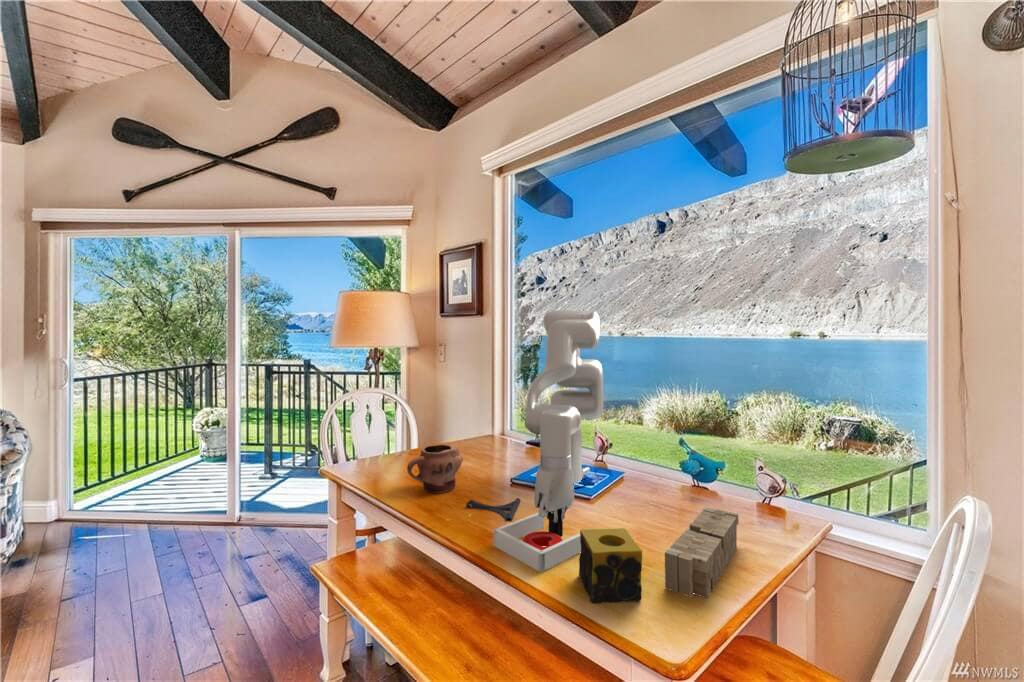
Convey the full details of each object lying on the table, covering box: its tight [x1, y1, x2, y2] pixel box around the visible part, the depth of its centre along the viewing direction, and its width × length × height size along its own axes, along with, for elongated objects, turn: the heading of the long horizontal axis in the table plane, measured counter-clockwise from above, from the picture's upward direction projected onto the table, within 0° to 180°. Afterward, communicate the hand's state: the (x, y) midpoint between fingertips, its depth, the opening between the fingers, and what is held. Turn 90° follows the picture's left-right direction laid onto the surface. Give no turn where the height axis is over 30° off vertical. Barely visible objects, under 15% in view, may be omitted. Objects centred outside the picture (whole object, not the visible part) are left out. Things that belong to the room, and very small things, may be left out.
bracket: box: [465, 497, 521, 522], centre depth 130 cm, size 14×15×3 cm
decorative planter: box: [406, 444, 464, 494], centre depth 145 cm, size 20×12×14 cm, turn 136°
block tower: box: [664, 506, 739, 598], centre depth 99 cm, size 8×8×29 cm
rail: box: [493, 512, 581, 573], centre depth 107 cm, size 16×16×4 cm
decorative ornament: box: [521, 530, 564, 551], centre depth 105 cm, size 10×10×3 cm
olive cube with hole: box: [578, 527, 643, 604], centre depth 90 cm, size 10×10×10 cm
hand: (555, 535), depth 110 cm, fingers closed
